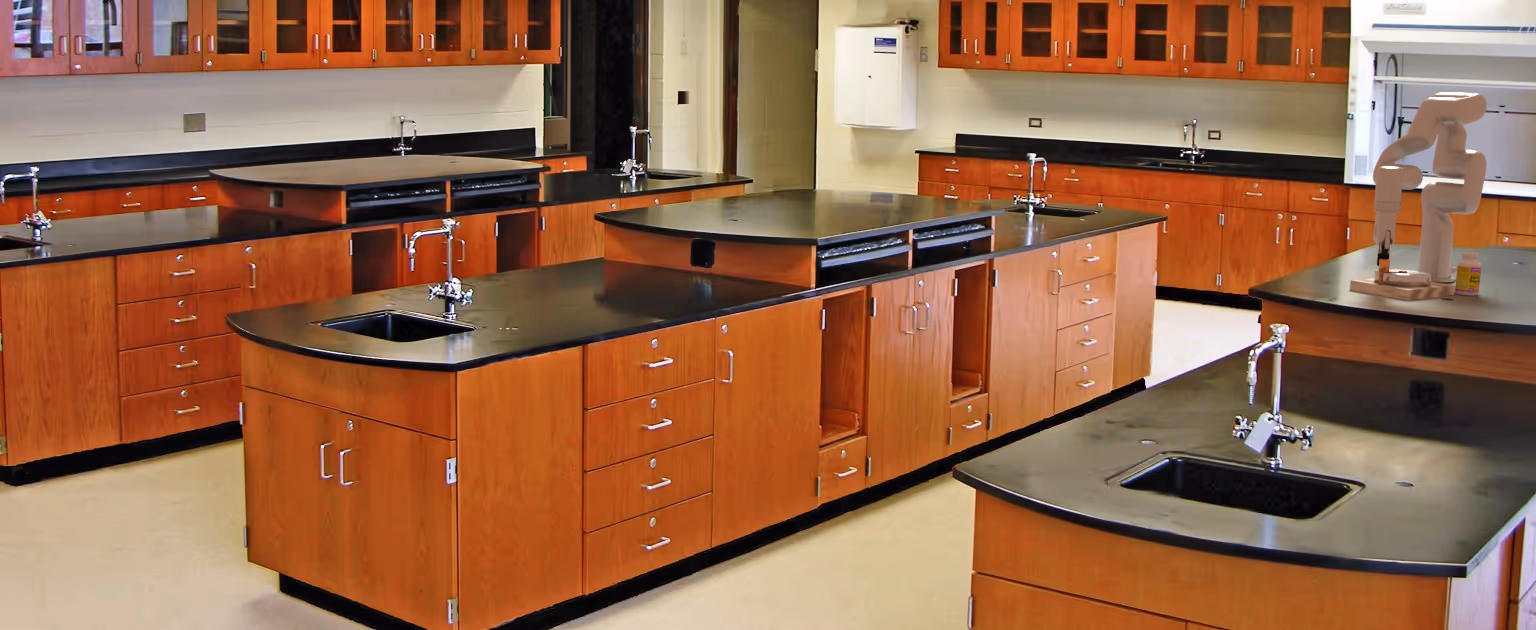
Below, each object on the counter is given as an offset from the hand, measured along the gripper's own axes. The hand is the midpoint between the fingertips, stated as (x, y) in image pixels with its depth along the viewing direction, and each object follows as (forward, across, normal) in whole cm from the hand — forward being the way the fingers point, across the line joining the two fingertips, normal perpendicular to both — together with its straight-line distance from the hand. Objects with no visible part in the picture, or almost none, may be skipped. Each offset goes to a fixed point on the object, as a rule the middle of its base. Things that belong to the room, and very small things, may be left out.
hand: (1382, 266), depth 479 cm
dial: (+4, +4, +5) cm, 8 cm away
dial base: (+7, +4, +5) cm, 10 cm away
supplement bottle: (+8, +1, +25) cm, 26 cm away
